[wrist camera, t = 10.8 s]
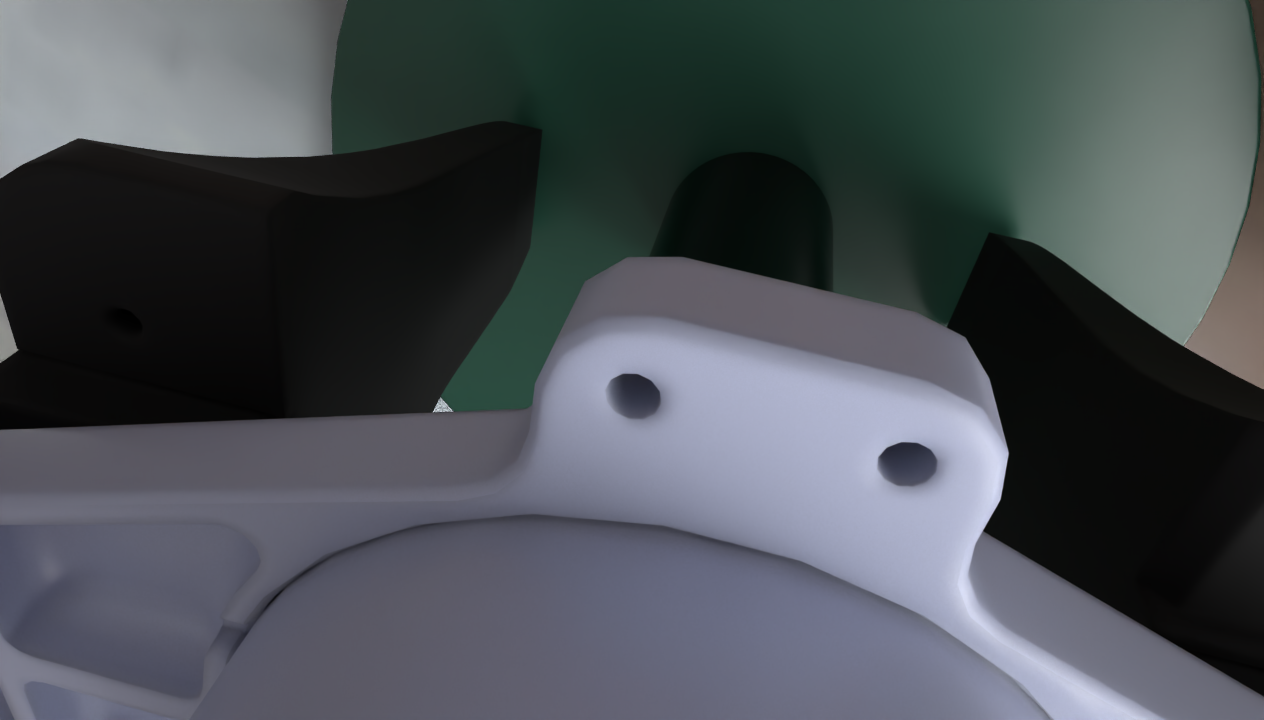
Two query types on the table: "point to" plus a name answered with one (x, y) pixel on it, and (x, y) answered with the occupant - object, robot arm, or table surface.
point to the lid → (830, 142)
